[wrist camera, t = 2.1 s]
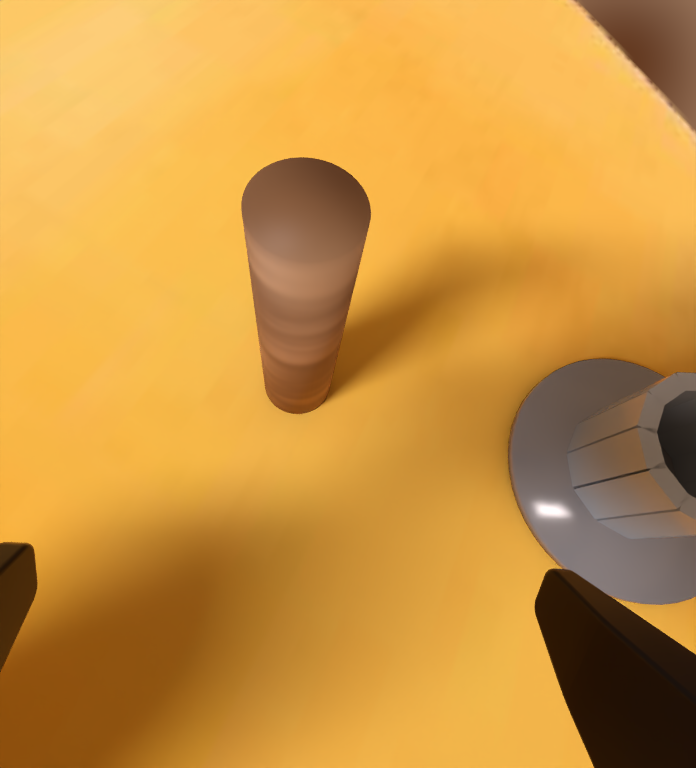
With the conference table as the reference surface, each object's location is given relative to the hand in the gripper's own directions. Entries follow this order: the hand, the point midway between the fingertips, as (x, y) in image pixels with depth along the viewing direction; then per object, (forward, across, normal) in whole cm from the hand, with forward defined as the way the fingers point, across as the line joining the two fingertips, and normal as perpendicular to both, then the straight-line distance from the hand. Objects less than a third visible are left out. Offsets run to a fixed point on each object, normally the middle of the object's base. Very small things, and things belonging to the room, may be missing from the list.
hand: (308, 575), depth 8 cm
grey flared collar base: (+12, -17, +4) cm, 21 cm away
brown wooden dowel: (+15, 0, +2) cm, 16 cm away
